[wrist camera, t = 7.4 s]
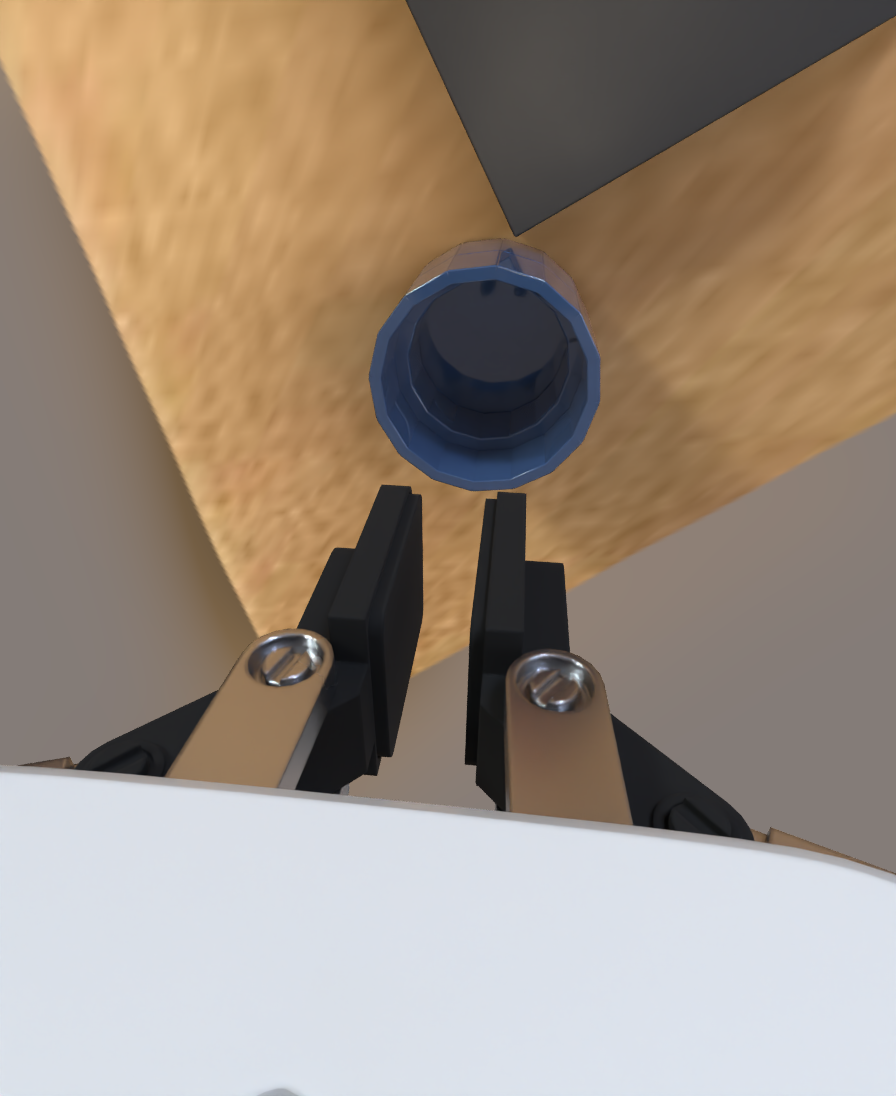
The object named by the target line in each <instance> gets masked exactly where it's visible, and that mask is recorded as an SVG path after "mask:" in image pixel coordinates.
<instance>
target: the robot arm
mask: <svg viewBox="0 0 896 1096" xmlns="http://www.w3.org/2000/svg"><path fill="white" fill-rule="evenodd" d="M525 541H526V494H525V493H509V492H498V494H497V499H486V502H485V510H484V518H483V526H482V535H481V543H480V551H479V559H478V568H477V576H476V584H475V592H474V600H473V609H472V617H471V628H470V644H469V669H468V695H467V697H468V698H467V721H466V722H467V723H466V748H465V764H466V765H476V766H477V767H476V785H477V786H479V787H480V788H481V789H482V790H483V791H484V792H485V793H486V794H487V795H488V796H489V797H490V798H491V799H492V800H493V801H494V802H495V811H493V810H484V809H474V808H465V807H455V806H445V805H436V804H426V803H416V802H407V801H397V800H387V799H377V798H368V797H357V796H348V793H349V783H350V782H352V781H353V780H355V779H357V778H358V777H360V776H362V775H363V774H364V775H374V776H377V774H378V769H379V765H380V761H381V757H392V755H393V752H394V748H395V743H396V738H397V734H398V729H399V725H400V720H401V716H402V711H403V706H404V702H405V697H406V693H407V688H408V684H409V679H410V674H411V670H412V665H413V661H414V656H415V651H416V647H417V642H418V638H419V633H420V628H421V624H422V617H423V543H422V496H421V495H420V494H412V490H411V487H410V486H395V485H381V487H380V489H379V492H378V494H377V497H376V499H375V502H374V504H373V507H372V509H371V511H370V514H369V516H368V519H367V521H366V524H365V526H364V529H363V531H362V533H361V536H360V538H359V541H358V543H357V546H356V548H355V549H351V548H335V549H334V550H333V551H332V553H331V555H330V557H329V559H328V561H327V564H326V566H325V568H324V570H323V572H322V575H321V577H320V579H319V581H318V583H317V585H316V588H315V590H314V592H313V594H312V596H311V598H310V601H309V603H308V605H307V607H306V609H305V612H304V614H303V616H302V618H301V620H300V622H299V625H298V627H297V629H284V630H279V631H274V632H271V633H269V634H266V635H264V636H261V637H260V638H258V639H257V640H255V641H254V642H252V643H251V644H249V645H248V647H247V648H246V649H245V650H244V651H243V652H242V654H241V655H240V657H239V658H238V660H237V661H236V663H235V665H234V666H233V668H232V669H231V671H230V672H229V674H228V676H227V677H226V679H225V681H224V682H223V684H222V685H221V687H220V688H219V690H217V691H215V692H213V693H211V694H209V695H206V696H204V697H202V698H200V699H198V700H196V701H194V702H192V703H189V704H188V705H185V706H183V707H181V708H179V709H177V710H175V711H173V712H170V713H168V714H166V715H164V716H162V717H160V718H158V719H155V720H154V721H151V722H149V723H147V724H145V725H143V726H141V727H139V728H136V729H134V730H132V731H130V732H128V733H126V734H124V735H122V736H119V737H117V738H115V739H113V740H111V741H109V742H107V743H105V744H103V745H102V746H100V747H98V748H97V749H95V750H93V751H92V752H91V753H90V754H88V755H87V756H86V757H85V758H84V759H83V760H82V761H80V762H79V763H78V764H73V763H72V761H71V758H70V757H66V758H60V759H55V760H48V761H42V762H36V763H30V764H24V765H18V766H11V765H0V1096H896V873H893V872H891V871H888V870H885V869H882V868H880V867H876V866H874V865H871V864H868V863H866V862H863V861H861V860H858V859H855V858H852V857H850V856H847V855H844V854H841V853H839V852H836V851H833V850H831V849H828V848H825V847H823V846H819V845H817V844H814V843H812V842H809V841H806V840H803V839H801V838H798V837H795V836H793V835H790V834H787V833H784V832H782V831H779V830H776V829H773V828H771V827H770V829H769V831H768V833H767V835H766V834H763V833H761V832H758V831H755V830H753V829H750V828H749V826H748V825H747V823H746V822H745V820H744V819H743V817H742V816H741V815H740V814H739V813H738V812H737V811H736V810H735V809H734V808H733V807H732V806H731V805H730V804H728V803H727V802H726V801H725V800H723V799H722V798H721V797H719V796H718V795H717V794H715V793H714V792H713V791H712V790H710V789H709V788H708V787H706V786H705V785H704V784H702V783H701V782H700V781H698V780H697V779H696V778H694V777H693V776H692V775H690V774H689V773H688V772H687V771H685V770H684V769H683V768H681V767H680V766H679V765H677V764H676V763H675V762H674V761H672V760H671V759H669V758H668V757H667V756H666V755H664V754H663V753H662V752H660V751H659V750H658V749H656V748H655V747H654V746H652V745H651V744H650V743H648V742H647V741H646V740H645V739H643V738H642V737H641V736H639V735H638V734H637V733H635V732H634V731H633V730H631V729H630V728H629V727H627V726H626V725H625V724H623V723H622V722H621V721H619V720H618V719H617V718H616V717H614V716H613V715H612V714H610V710H609V705H608V700H607V695H606V690H605V685H604V683H603V680H602V678H601V675H600V673H599V672H598V671H597V670H596V669H595V668H594V667H593V665H592V664H590V663H589V662H587V661H586V660H584V659H583V658H581V657H580V656H578V655H575V654H572V653H570V647H569V632H568V618H567V604H566V589H565V575H564V565H563V563H551V562H537V561H525Z"/></svg>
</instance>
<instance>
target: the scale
mask: <svg viewBox="0 0 896 1096" xmlns="http://www.w3.org/2000/svg"><path fill="white" fill-rule="evenodd" d="M406 2H407V4H408V7H409V9H410V11H411V13H412V15H413V17H414V20H415V22H416V24H417V26H418V28H419V30H420V33H421V35H422V37H423V39H424V41H425V43H426V46H427V48H428V50H429V52H430V54H431V56H432V59H433V61H434V63H435V65H436V67H437V69H438V72H439V74H440V76H441V78H442V80H443V82H444V85H445V87H446V89H447V91H448V93H449V95H450V98H451V100H452V102H453V104H454V106H455V108H456V111H457V113H458V115H459V117H460V119H461V121H462V124H463V126H464V128H465V130H466V132H467V134H468V137H469V139H470V141H471V143H472V145H473V147H474V150H475V152H476V154H477V156H478V158H479V160H480V163H481V165H482V167H483V169H484V171H485V173H486V176H487V178H488V180H489V182H490V184H491V186H492V189H493V191H494V193H495V195H496V197H497V199H498V202H499V204H500V206H501V208H502V210H503V212H504V215H505V217H506V219H507V221H508V223H509V225H510V228H511V230H512V232H513V234H514V236H515V237H517V236H519V235H520V234H522V233H524V232H526V231H527V230H529V229H531V228H533V227H534V226H536V225H538V224H539V223H541V222H543V221H545V220H546V219H548V218H550V217H551V216H553V215H555V214H557V213H558V212H560V211H562V210H563V209H565V208H567V207H569V206H570V205H572V204H574V203H575V202H577V201H579V200H581V199H582V198H584V197H586V196H587V195H589V194H591V193H593V192H594V191H596V190H598V189H599V188H601V187H603V186H605V185H606V184H608V183H610V182H612V181H613V180H615V179H617V178H618V177H620V176H622V175H624V174H625V173H627V172H629V171H630V170H632V169H634V168H636V167H637V166H639V165H641V164H642V163H644V162H646V161H648V160H649V159H651V158H653V157H654V156H656V155H658V154H660V153H661V152H663V151H665V150H666V149H668V148H670V147H672V146H673V145H675V144H677V143H678V142H680V141H682V140H684V139H685V138H687V137H689V136H691V135H692V134H694V133H696V132H697V131H699V130H701V129H703V128H704V127H706V126H708V125H709V124H711V123H713V122H715V121H716V120H718V119H720V118H721V117H723V116H725V115H727V114H728V113H730V112H732V111H733V110H735V109H737V108H739V107H740V106H742V105H744V104H745V103H747V102H749V101H751V100H752V99H754V98H756V97H757V96H759V95H761V94H763V93H764V92H766V91H768V90H770V89H771V88H773V87H775V86H776V85H778V84H780V83H782V82H783V81H785V80H787V79H788V78H790V77H792V76H794V75H795V74H797V73H799V72H800V71H802V70H804V69H806V68H807V67H809V66H811V65H812V64H814V63H816V62H818V61H819V60H821V59H823V58H824V57H826V56H828V55H830V54H831V53H833V52H835V51H836V50H838V49H840V48H842V47H843V46H845V45H847V44H849V43H850V42H852V41H854V40H855V39H857V38H859V37H861V36H862V35H864V34H866V33H867V32H869V31H871V30H873V29H874V28H876V27H878V26H879V25H881V24H883V23H885V22H886V21H888V20H890V19H891V18H893V17H895V16H896V0H406Z"/></svg>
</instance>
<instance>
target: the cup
mask: <svg viewBox="0 0 896 1096" xmlns="http://www.w3.org/2000/svg"><path fill="white" fill-rule="evenodd" d="M369 382H370V387H371V393H372V398H373V403H374V408H375V414H376V418H377V420H378V422H379V424H380V425H381V427H382V428H383V430H384V431H385V433H386V435H387V436H388V438H389V439H390V441H391V442H392V444H393V446H394V447H395V449H396V450H397V452H398V453H399V454H400V456H402V457H403V458H404V459H406V460H407V461H408V462H410V463H411V464H412V465H414V466H415V467H417V468H418V469H419V470H421V471H422V472H423V473H425V474H426V475H427V476H429V477H430V478H431V479H433V480H436V481H439V482H443V483H446V484H449V485H453V486H456V487H459V488H463V489H466V490H469V491H487V490H505V489H513V488H514V489H515V488H517V487H519V486H522V485H524V484H526V483H529V482H531V481H533V480H536V479H538V478H540V477H542V476H545V475H547V474H549V473H551V472H553V471H554V470H555V469H556V468H557V467H558V466H559V465H560V464H561V463H562V462H563V461H564V460H565V459H566V458H567V457H568V456H569V455H570V454H571V453H572V452H573V451H574V450H575V449H576V448H577V447H578V446H579V445H580V444H581V443H582V442H583V440H584V438H585V436H586V434H587V431H588V429H589V427H590V424H591V422H592V420H593V417H594V415H595V413H596V411H597V408H598V406H599V404H600V354H599V351H598V347H597V344H596V340H595V337H594V333H593V330H592V326H591V323H590V319H589V316H588V313H587V310H586V308H585V306H584V303H583V301H582V299H581V296H580V294H579V292H578V289H577V287H576V285H575V283H574V280H573V279H572V277H571V276H570V275H568V274H567V273H566V272H565V271H564V270H563V269H562V268H561V267H560V266H559V265H558V264H557V263H555V262H554V261H553V260H552V259H551V258H550V257H549V256H548V255H547V254H546V253H545V252H543V251H541V250H539V249H536V248H533V247H530V246H527V245H524V244H520V243H517V242H514V241H511V240H508V239H505V238H504V239H501V238H499V239H491V240H482V241H473V242H465V243H463V244H459V245H457V246H456V247H454V248H452V249H451V250H449V251H447V252H446V253H444V254H442V255H441V256H439V257H437V258H436V259H434V260H432V261H431V262H429V263H428V265H426V266H425V267H424V269H423V270H422V271H421V273H420V274H419V276H418V277H417V278H416V280H415V281H414V283H413V284H412V285H411V287H410V288H409V290H408V291H407V292H406V294H405V295H404V297H403V298H402V299H401V301H400V302H399V304H398V305H397V306H396V308H395V309H394V311H393V312H392V313H391V315H390V316H389V318H388V319H387V321H386V322H385V323H384V325H383V326H382V328H381V329H380V330H379V332H378V334H377V339H376V343H375V348H374V353H373V357H372V362H371V367H370V372H369Z"/></svg>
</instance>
